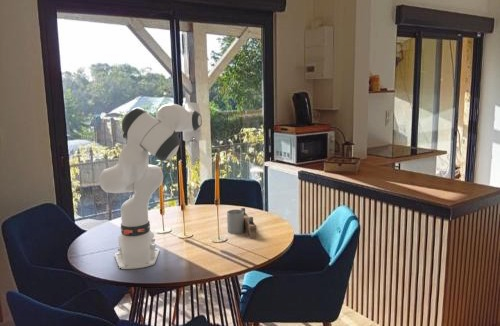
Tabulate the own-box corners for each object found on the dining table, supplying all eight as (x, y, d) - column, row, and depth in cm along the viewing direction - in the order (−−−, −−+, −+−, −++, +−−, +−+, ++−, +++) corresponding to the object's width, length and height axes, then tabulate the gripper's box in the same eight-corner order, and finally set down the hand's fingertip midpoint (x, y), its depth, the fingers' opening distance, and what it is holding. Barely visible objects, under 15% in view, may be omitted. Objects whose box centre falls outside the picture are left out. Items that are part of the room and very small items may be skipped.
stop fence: (256, 237, 190) (256, 219, 188) (250, 238, 189) (250, 220, 188) (244, 222, 213) (244, 206, 211) (238, 223, 212) (238, 206, 210)
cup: (247, 230, 200) (247, 211, 199) (237, 235, 194) (236, 215, 192) (234, 227, 206) (234, 208, 204) (224, 231, 199) (223, 212, 197)
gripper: (201, 138, 182) (202, 168, 184) (196, 134, 201) (197, 161, 204) (187, 139, 180) (189, 169, 183) (183, 134, 200) (184, 161, 202)
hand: (193, 164), depth 194 cm, fingers closed
